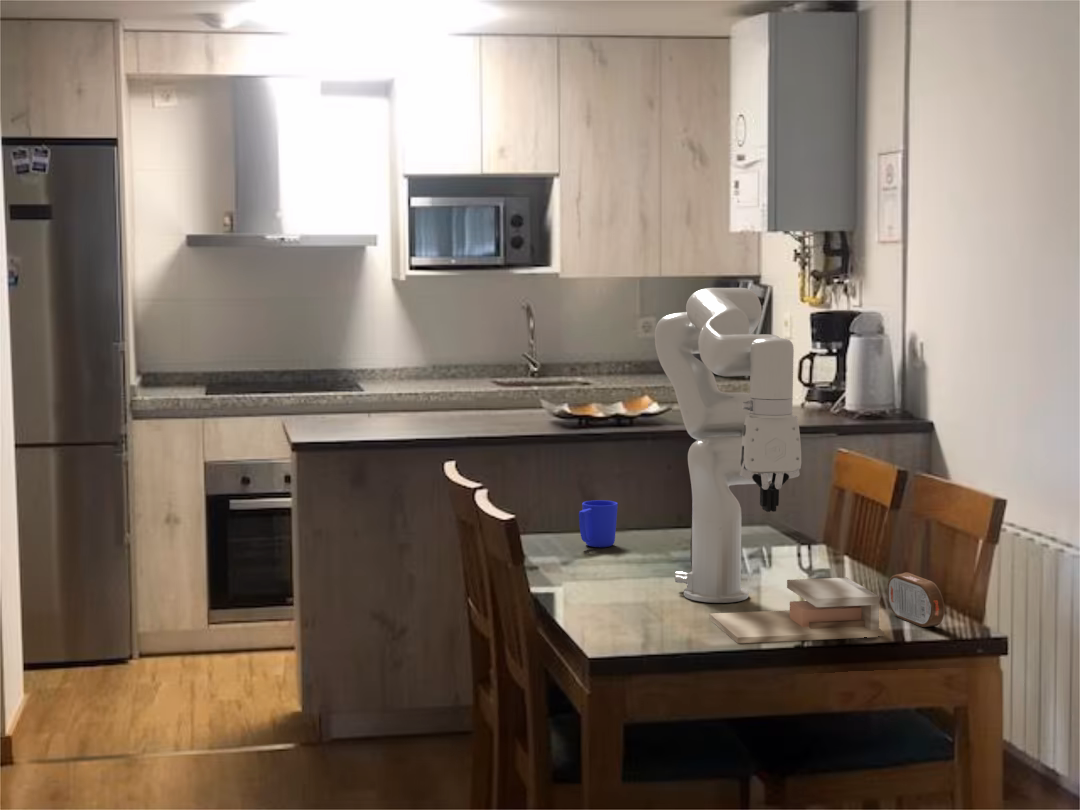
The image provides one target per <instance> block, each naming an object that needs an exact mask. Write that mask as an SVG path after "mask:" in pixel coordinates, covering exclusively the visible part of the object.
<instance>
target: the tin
mask: <svg viewBox="0 0 1080 810" xmlns="http://www.w3.org/2000/svg"><path fill="white" fill-rule="evenodd" d="M941 592H942V591H941V590H940V589H939V587H938V585H937V584H936V583H935V582H934V581H931V580H928V579H926V578H923V577H920V576H918V575H915V574H913V573H910V572H903V573H898V574H893V575H892V576H891V577H890V578H889V579H888V582H887V600H888V602H887V603H888V605H889V608H890V610H891V611H892V613H893V614H894V615H895V616H896V617H897V618H899V619H901V620H904V621H907V622H908V623H911V624H913V625H916V626H919V627H922V628H930V627H937V626H939V625H940V624H941V623H942V622H943V619H944V616H945V602H944V598H943V595H942V593H941Z"/></svg>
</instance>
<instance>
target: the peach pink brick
mask: <svg viewBox="0 0 1080 810" xmlns="http://www.w3.org/2000/svg"><path fill="white" fill-rule="evenodd" d="M789 610H790V618H791V619H792V620H793V621H795V622H796V623H798V624H799V625H800V626H802V627H809V622H822V621H845V620H862V608H861V607H860V606H836V607H815V606H814V605H812V604H811V603H809V602H808V601H806V600H793V601H791V600H790V601H789Z"/></svg>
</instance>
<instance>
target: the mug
mask: <svg viewBox="0 0 1080 810" xmlns="http://www.w3.org/2000/svg"><path fill="white" fill-rule="evenodd" d="M581 505H582V508H581V509H582V510H579V512H578V522H579V523H578V524H579V532H580V537H581V540H582V541H583V542H584V543H585V544H586V545H587V546H588V547H590V548H591V547H592V548H608V547H612V546H613V545H614V544H615V541H616V532H617V531H616V530H617V529H616V528H617V517H618V502H616V501H613V500H605V499H604V500H603V499H602V500H601V499H600V500H599V499H598V500H596V499H595V500H586V501H583V502H582V504H581Z"/></svg>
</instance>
